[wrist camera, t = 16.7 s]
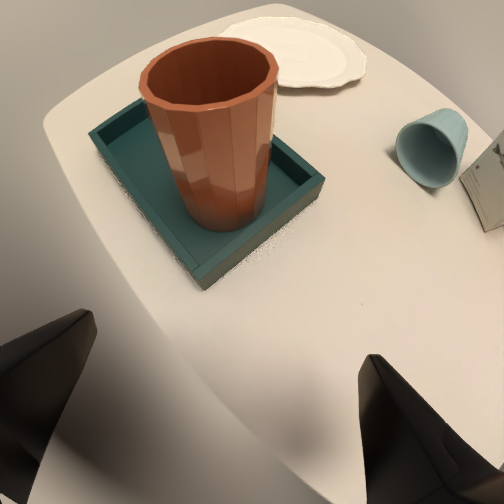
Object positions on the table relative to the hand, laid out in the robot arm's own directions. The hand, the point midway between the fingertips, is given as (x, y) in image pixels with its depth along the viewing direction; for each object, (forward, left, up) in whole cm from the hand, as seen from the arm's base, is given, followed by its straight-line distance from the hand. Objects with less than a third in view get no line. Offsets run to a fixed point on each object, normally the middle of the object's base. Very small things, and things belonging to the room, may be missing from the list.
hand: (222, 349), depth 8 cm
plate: (+33, +19, -13) cm, 40 cm away
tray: (+10, +14, -13) cm, 21 cm away
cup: (+32, 0, -10) cm, 34 cm away
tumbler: (+9, +9, -13) cm, 18 cm away
